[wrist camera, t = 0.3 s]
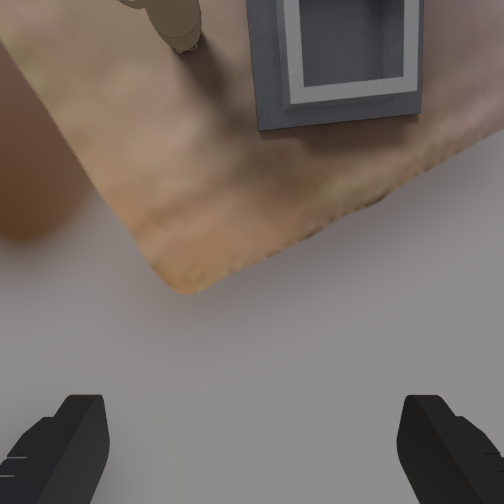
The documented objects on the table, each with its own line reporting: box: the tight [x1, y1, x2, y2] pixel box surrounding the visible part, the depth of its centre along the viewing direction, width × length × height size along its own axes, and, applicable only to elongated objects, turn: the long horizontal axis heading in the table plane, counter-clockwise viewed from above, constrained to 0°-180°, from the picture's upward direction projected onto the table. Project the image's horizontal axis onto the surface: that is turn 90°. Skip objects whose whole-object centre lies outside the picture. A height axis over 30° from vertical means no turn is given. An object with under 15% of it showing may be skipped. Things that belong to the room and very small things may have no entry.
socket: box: [246, 0, 424, 131], centre depth 30 cm, size 14×16×5 cm
